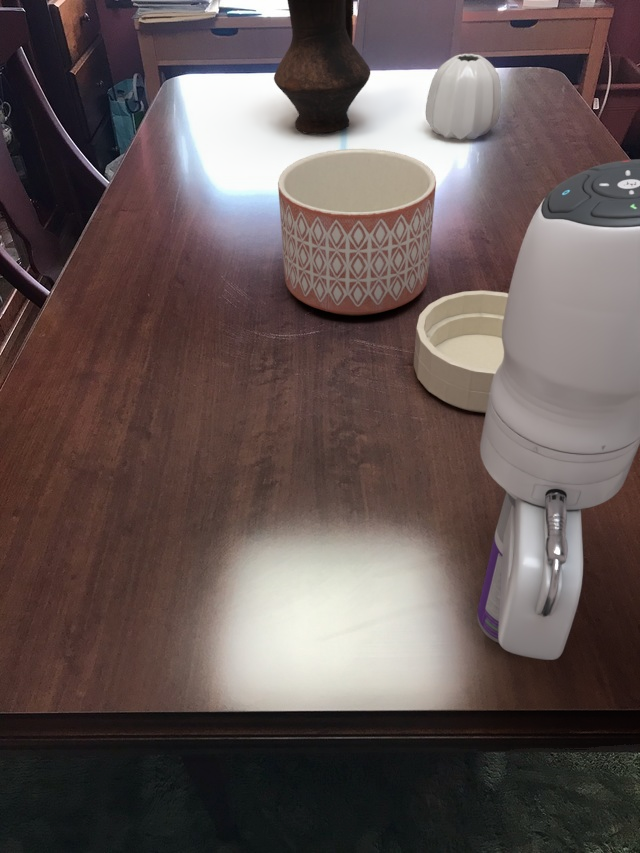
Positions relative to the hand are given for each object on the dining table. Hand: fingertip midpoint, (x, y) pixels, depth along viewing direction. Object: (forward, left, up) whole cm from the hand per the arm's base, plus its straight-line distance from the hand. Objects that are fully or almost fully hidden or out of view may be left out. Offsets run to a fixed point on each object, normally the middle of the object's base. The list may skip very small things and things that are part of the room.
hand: (518, 572), depth 51 cm
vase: (+13, -107, -7) cm, 108 cm away
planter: (+22, -48, -7) cm, 53 cm away
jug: (+40, -107, -7) cm, 114 cm away
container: (0, 0, -7) cm, 7 cm away
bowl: (+4, -32, -6) cm, 33 cm away
